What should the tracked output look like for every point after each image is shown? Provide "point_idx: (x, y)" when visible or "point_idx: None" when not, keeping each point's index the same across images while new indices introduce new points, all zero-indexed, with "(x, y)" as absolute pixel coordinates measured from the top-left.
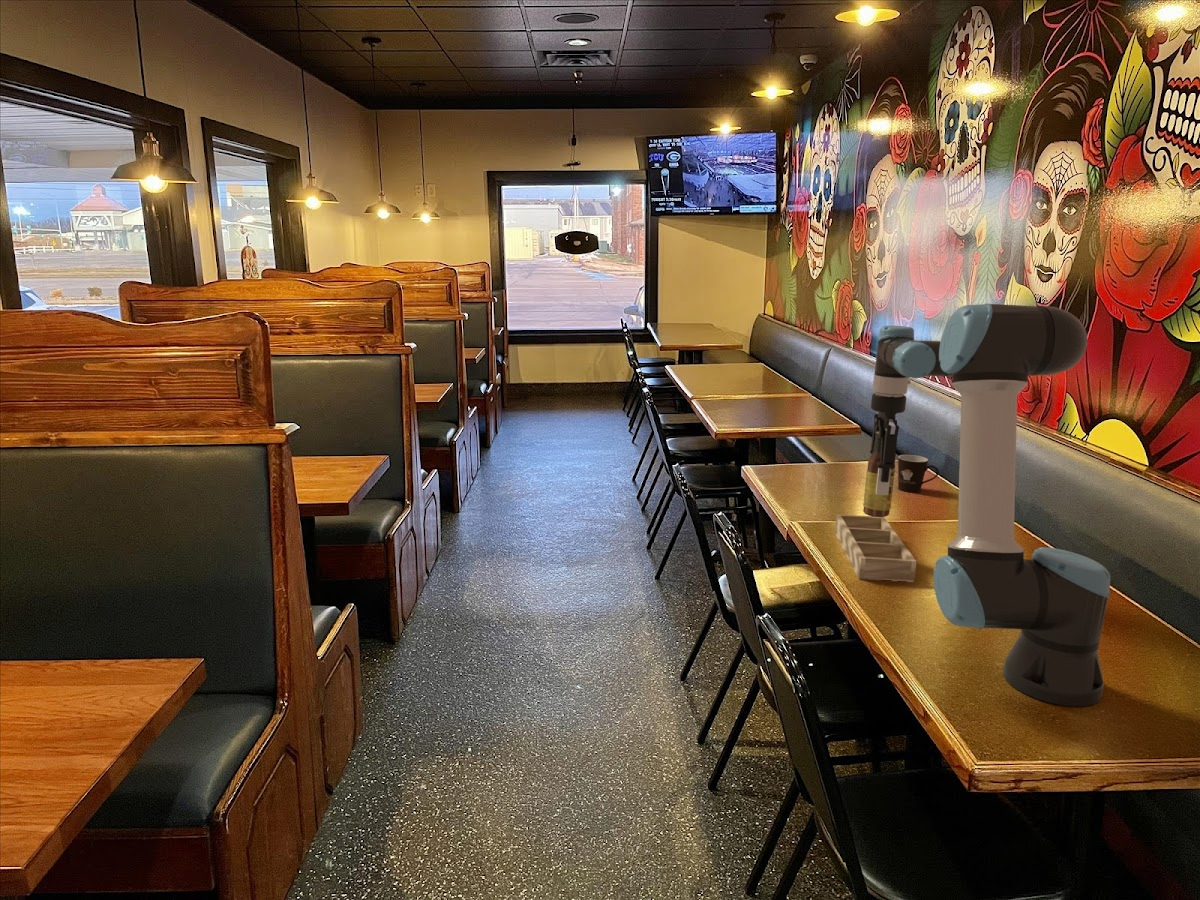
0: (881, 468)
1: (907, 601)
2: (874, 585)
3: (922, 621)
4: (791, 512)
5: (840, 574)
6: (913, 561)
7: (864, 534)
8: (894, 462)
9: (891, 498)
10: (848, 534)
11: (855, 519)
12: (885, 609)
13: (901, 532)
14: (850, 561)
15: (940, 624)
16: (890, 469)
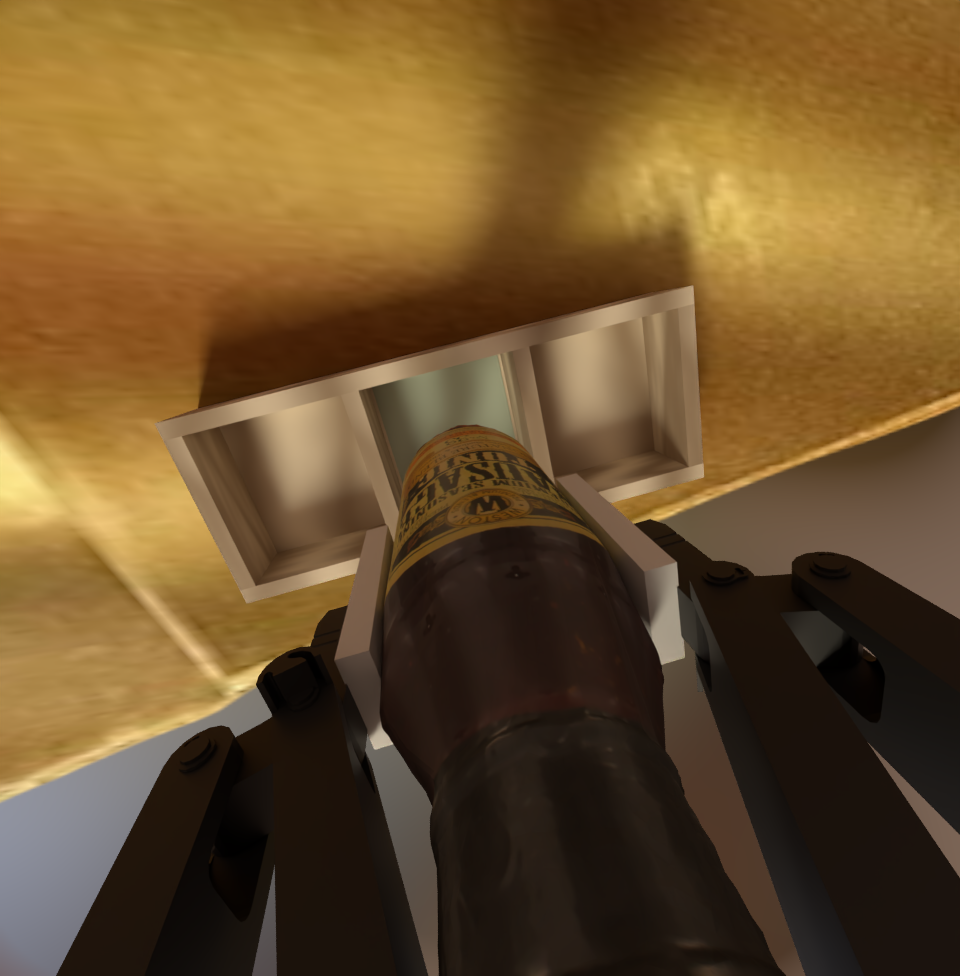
0: (679, 635)
1: (795, 316)
2: None
3: (918, 277)
4: (129, 711)
5: (641, 506)
6: (692, 297)
7: (392, 481)
8: (896, 586)
9: (496, 442)
10: None
11: (235, 529)
12: (852, 377)
13: (98, 329)
14: None
15: (935, 224)
16: (668, 561)
